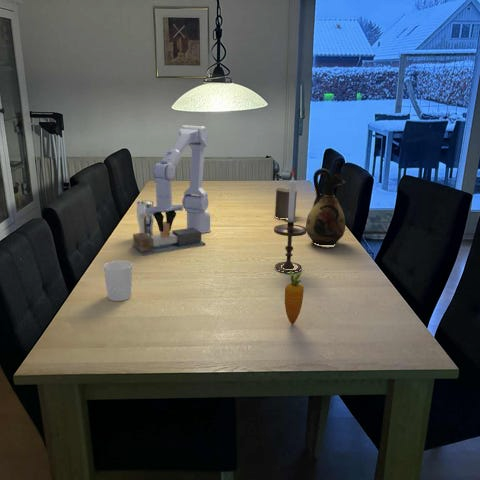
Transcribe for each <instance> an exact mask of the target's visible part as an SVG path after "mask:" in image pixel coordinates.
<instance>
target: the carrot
mask: <svg viewBox="0 0 480 480" xmlns="http://www.w3.org/2000/svg"><path fill="white" fill-rule="evenodd" d="M289 272H290V275H289V276H290V281H291V282H290V283H287V284H286V285H285V288H284V308H285V313H286V316H287V319H288V321H289V323H290V324H291V325H293V324H296V321H297V319H298V317H299V315H300V313H301V310H302V305H303V300H304V299H303V298H304V292H305V291H304V289H305V288H304V286H303V285H302V284H300V283H301V282H302V279H299V278H300V277H301V275H302V273H301V272H298V273H296V274H295V273H292V271H289ZM294 274H295V275H294Z"/></svg>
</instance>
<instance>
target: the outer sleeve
mask: <svg viewBox="0 0 480 480" xmlns="http://www.w3.org/2000/svg"><path fill="white" fill-rule="evenodd" d="M186 228H187V227H186ZM186 228H180V229H175V230H171V231H172V232H171V233H176V234H177V235H178V242H179V243H173V244H166V245H160V246H154V251H148V252H141V251H140V250H139V249H137V248H136V247H135V246H134V244H131V248H132V249H133V250H134V251H136V252H137V253H138V254H140V255H141V256H146V255H147V256H148V255H154V254H158V253H159V254H160V253H165V252H171V251H177V250H185V249H189V248H190V249H191V248H196V247H203V246H206V242H204V241H202V233H201V232H200V231H198V230H196V229H195V228H187V229H186Z"/></svg>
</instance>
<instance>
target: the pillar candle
mask: <svg viewBox="0 0 480 480" xmlns="http://www.w3.org/2000/svg"><path fill="white" fill-rule="evenodd" d="M275 190H276V191H275V192H276V193H275V209H274V217H275V216H276V217H278V218H288V210H289V190H290V187H288V186H286V187H277V188H276V189H275ZM297 193H298V189H296V188H295V203H294V217H295V218H296V210H297V197H298V196H297V195H298V194H297Z"/></svg>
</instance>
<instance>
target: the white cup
mask: <svg viewBox="0 0 480 480" xmlns="http://www.w3.org/2000/svg"><path fill="white" fill-rule="evenodd" d="M132 268H133V263H132V262H131V261H129V260H123V259H122V260H120V259H119V260H112V261H108V262H106V263H104V264H103V271H104V278H105V286H106V292H107V298H108V300H110V301H113V302H123V301H127V300H129V299H130V298H131V297H132V286H133V285H132V284H133V283H132V282H133V269H132Z"/></svg>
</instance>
